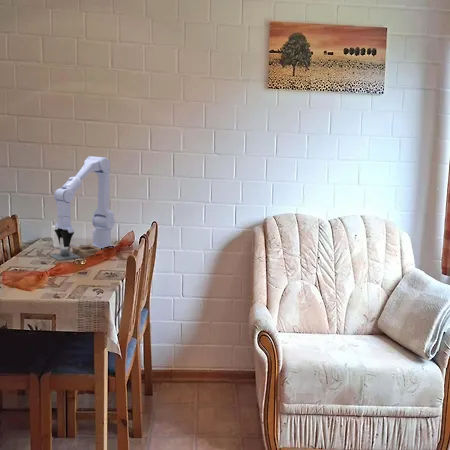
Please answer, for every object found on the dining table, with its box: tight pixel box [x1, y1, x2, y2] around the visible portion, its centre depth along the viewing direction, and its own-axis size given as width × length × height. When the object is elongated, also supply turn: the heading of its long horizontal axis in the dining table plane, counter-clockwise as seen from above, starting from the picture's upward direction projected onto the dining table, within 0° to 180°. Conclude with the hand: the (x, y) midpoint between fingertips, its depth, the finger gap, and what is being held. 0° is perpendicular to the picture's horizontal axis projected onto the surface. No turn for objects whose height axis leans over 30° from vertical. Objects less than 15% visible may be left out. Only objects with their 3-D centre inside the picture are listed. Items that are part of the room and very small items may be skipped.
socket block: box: [71, 244, 101, 258], centre depth 247 cm, size 10×10×2 cm
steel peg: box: [59, 237, 71, 256], centre depth 239 cm, size 4×4×8 cm
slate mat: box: [49, 251, 81, 261], centre depth 240 cm, size 10×10×1 cm
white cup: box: [51, 224, 60, 249], centre depth 258 cm, size 8×8×10 cm
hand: (64, 245), depth 239 cm, fingers closed on steel peg, 4 cm apart
